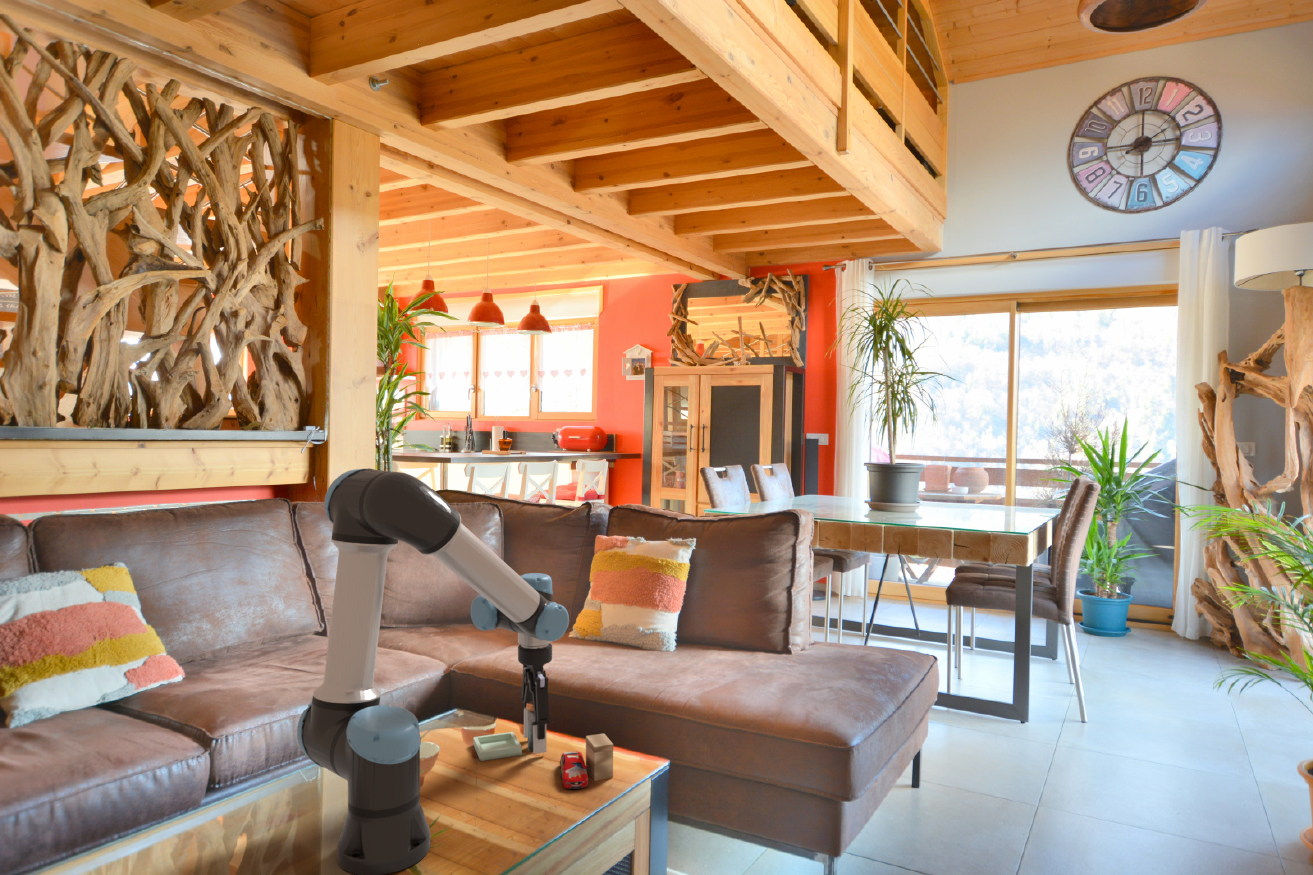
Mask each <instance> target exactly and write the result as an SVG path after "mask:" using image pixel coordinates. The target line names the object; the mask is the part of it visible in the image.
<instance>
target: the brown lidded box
mask: <svg viewBox="0 0 1313 875" xmlns="http://www.w3.org/2000/svg"><path fill="white" fill-rule="evenodd" d="M585 765H587V766H588V767H586V770H587V773H588V774H589V775H590V777H591V778H592V779H593V781H601V780H607V779H613V778H614V743H613V742H612V741H611V740H610V739H609V737H608V736H607V735H606V734H605V733H598V734H590V735H586V736H585Z"/></svg>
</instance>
